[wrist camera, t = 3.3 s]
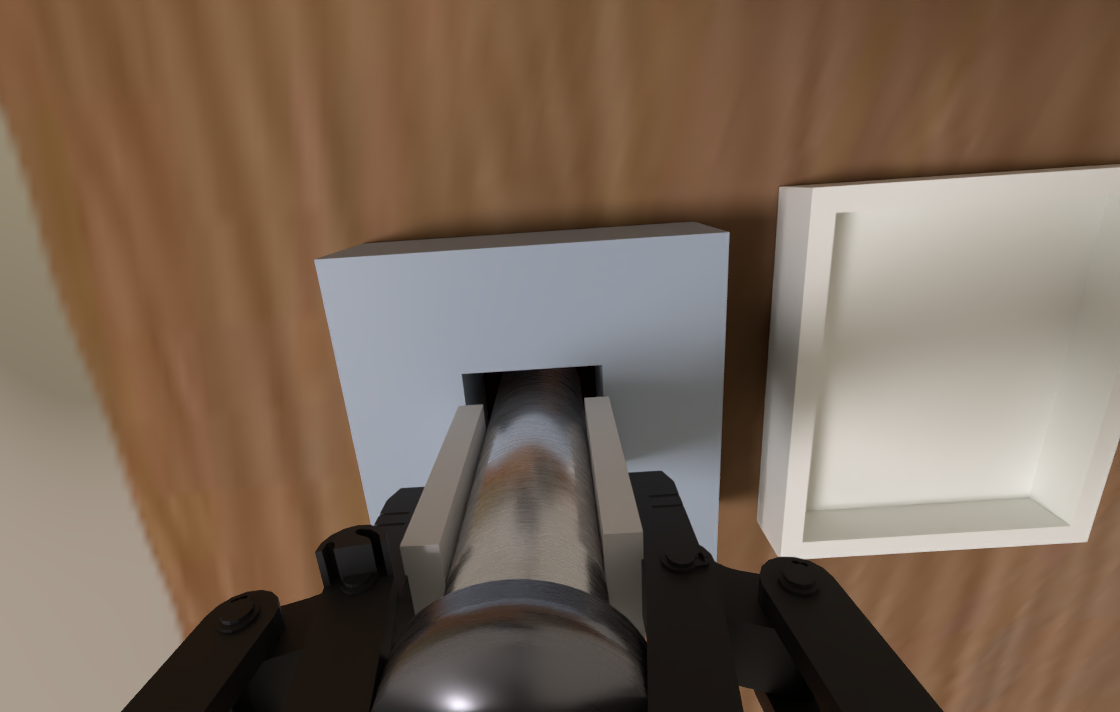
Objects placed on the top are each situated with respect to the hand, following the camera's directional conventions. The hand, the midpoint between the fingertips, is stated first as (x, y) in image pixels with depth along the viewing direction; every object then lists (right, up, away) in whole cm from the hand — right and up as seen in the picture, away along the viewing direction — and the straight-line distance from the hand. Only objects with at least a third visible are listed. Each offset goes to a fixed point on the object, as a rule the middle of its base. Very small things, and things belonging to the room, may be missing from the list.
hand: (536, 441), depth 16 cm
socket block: (0, +1, +4) cm, 5 cm away
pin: (0, +1, +4) cm, 5 cm away
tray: (+15, +2, +4) cm, 16 cm away
